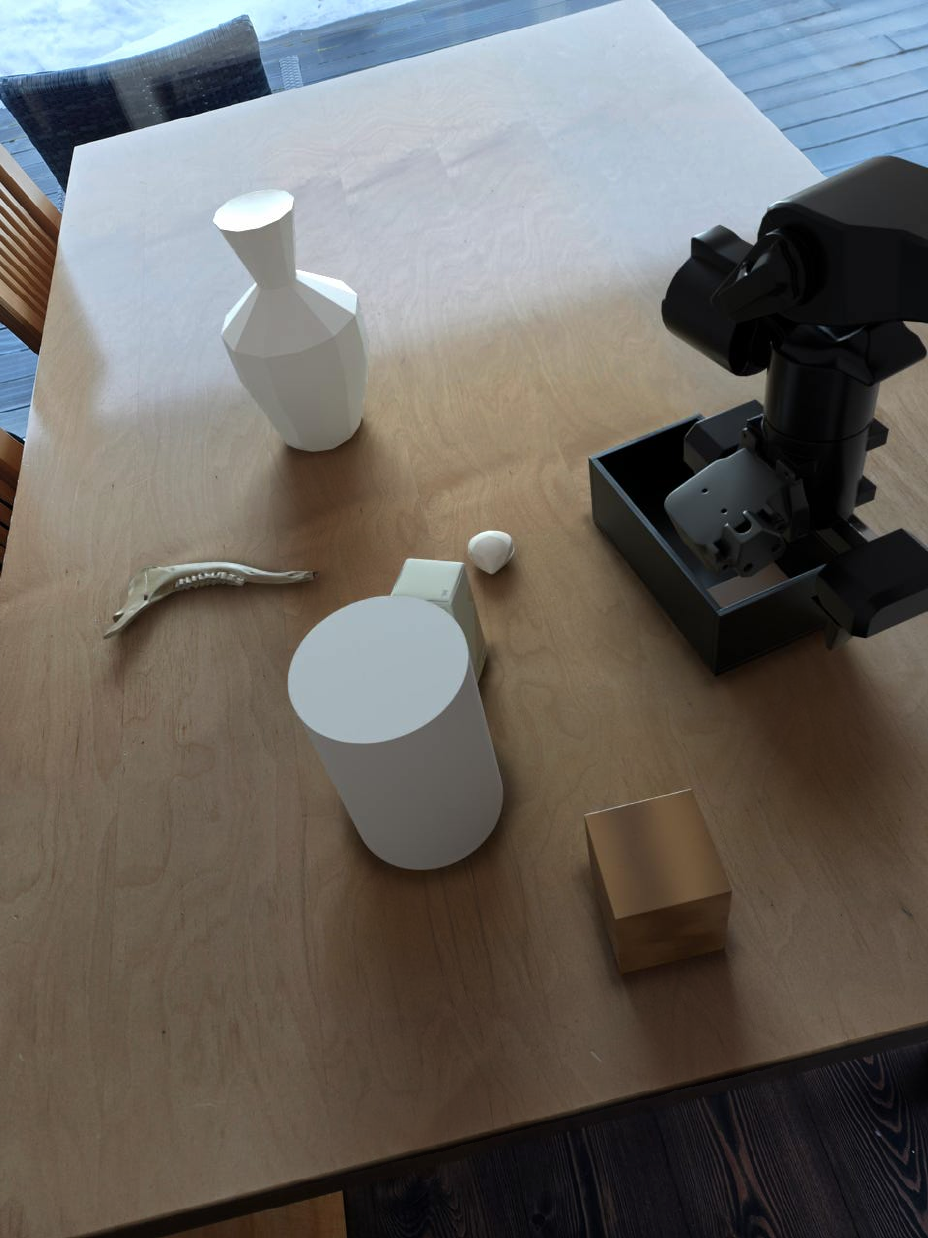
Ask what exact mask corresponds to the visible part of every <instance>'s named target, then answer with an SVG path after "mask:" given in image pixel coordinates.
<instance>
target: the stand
mask: <svg viewBox="0 0 928 1238" xmlns="http://www.w3.org/2000/svg"><path fill="white" fill-rule="evenodd" d="M583 819H584V821H583V822H584V828H585V835H586V843H587V844H586V845H587V851H588V861H589V867H590V868H589V869H590V874H591V880H592V883H593V886H594V889H595V893H596V897H597V901H598V904H599V906H600V911H601V914H602V916H603V921H604V923H605V927H606V931H607V934H608V937H609V940H610V945H611V947H612V952H613V955H614V958H615V962H616V964H617V968H618V971H619V974H620V975H622V974H625V973H631V972H634V971H635V972H636V971H639V970H643V969H646V968H651V967H655V966H659V965H663V964H667V963H673V962H675V961H679V960H683V959H688V958H692V957H696V956H700V955H704V954H710V953H713V952H717V951H721V950H724V949H725V945H726V939H727V931H728V925H729V918H730V911H731V904H732V896H733V888H732V886H731V884H730V881H729V878H728V876H727V874H726V871H725V869H724V866H723V864H722V861H721V858H720V856H719V853H718V851H717V848H716V846H715V844H714V841H713V838H712V836H711V834H710V830H709V829H708V826H707V823H706V821H705V819H704V816H703V813H702V810H701V808H700V806H699V803H698V800H697V799H696V796H695V794H694V791H693V789H692V788H689V789H685V790H680V791H677V792H672V793H669V794H664V795H659V796H656V797H652V798H648V799H644V800H640V801H635V802H630V803H627V804H624V805H619V806H615V807H611V808H608V809H603V810H598V811H595V812H591V813H586V814H584V815H583Z"/></svg>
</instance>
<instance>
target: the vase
mask: <svg viewBox="0 0 928 1238" xmlns="http://www.w3.org/2000/svg"><path fill="white" fill-rule="evenodd" d="M295 210H296V209H295V197H294V196H293V195H291V193H289V192H288V191H287V190H283V189H281V190H280V189H273V188H266V189H261V190H255V191H249V192H247V193H244V194H242V195H239V196H237V197H235V198H232V199H230V200H228V201H227V202H226V203H224V204H223V205H222V206H221V207H220V208H218V209H217V210H216V211H215V215H214V217H213V220H212V222H213V223H214V225H215V227H216V228H217V229H218V231H219V232H220V234H221V235H222V236H223V238H224V239H225V241H226V242H227V243H228V245H229V246H230V248H231V249H232V251H233V252H234V253H235V255H236V256H237V258H238V259H239V260H240V262H241V264H242V265H243V266H244V267H245V269H246V271H247V272H248V273H249V275H250V276H251V278H252V279H253V281H254V283H253V284H252V285H251V287H250V288H248V290H247V291H246V292H245V293H244V294H243V295H242V297H241V298H240V299H239V300H238V301H237V302H236V304H235V305H234V306H233V307H232V308H231V309H230V310H229V311H228V313H226V315H225V319H224V323H223V326H222V329H221V333H220V337H221V341H222V342H223V344H224V345H223V346H224V347H225V350H226V352H227V355H228V357H229V359H230V362H231V364H232V366H233V368H234V371H235V373H236V375H237V378H238V380H239V382H240V383H241V384H242V385H243V387H244V388H245V390H246V391H247V392H248V394H249V396H251V398H252V399H253V400H254V401H255V403H256V404H257V405H258V407H259V408H260V410H261V411H262V412H263V413H264V415H265V416H266V418H267V419H268V421H269V423H270V424H271V426H272V427H273V429H275V431H276V432H277V433H278V434H279V436H280V437H281V439H282V440H283V441H284V442H285V444H286V445H287V446H290V447H291V448H293V449H296V450H300V451H307V452H313V453H315V452H323V451H330V450H334V449H336V448H337V447H338V446H340V445H342V444H344V443H345V442H347V441H349V440H350V439H352V437H353V436H354V435H355V433H356V432H357V430H358V429H359V427H361V422H362V418H363V412H364V405H365V400H366V396H367V389H368V383H369V368H370V367H369V366H370V365H369V361H370V359H369V358H370V357H369V355H370V339H369V335H368V331H367V326H366V322H365V318H364V314H363V310H362V307H361V303H360V299H359V295H358V294H357V293H356V292H355V291H354V290H353V289H352V288H350V287H349V285H348V284H346V283H345V282H344V281H343V280H339V279H335V278H332V277H327V276H323V275H320V274H315V273H312V272H307V271H304V270H300V269H298V267H297V241H296V239H297V237H296V215H295V214H296V213H295V212H296V211H295Z"/></svg>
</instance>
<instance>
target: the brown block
mask: <svg viewBox="0 0 928 1238" xmlns="http://www.w3.org/2000/svg"><path fill="white" fill-rule="evenodd" d="M788 580H790V579H789V578H788V577H787V576H786V574H785V573H784V572H783V571H782V570H781V569H780V568H779V567H778V566H777V565H776V564H775V563H774V562H772V563H771V564H769V565H768V566H766V567H765V568H764V569H762V570H761V571H759V572H758V573H756V574H755V575H753V576H752V577H746V578H742V577H741V576H740V575H739V576H737V577H735V578H732V579H730V580H728V581H725V582H723V583H721V584H718V585H716V586H714V587H711V588H709V589H707V591H708V592H709V593H710V595H711V596H712V597H713V598H714V599H715V601H716V602H717V603H718V604H719V605H720V607H721V608H722V609H723V608H726V607H728V606H730V605H733V604H735V603H737V602H739V601H742V600H744V599H746V598H749V597H751V596H753V595H756V594H758V593H760V592H762V591H765V590H767V589H769V588H772V587H774V586H776V585H779V584H781V583H783V582H785V581H788Z"/></svg>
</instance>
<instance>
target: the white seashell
mask: <svg viewBox="0 0 928 1238" xmlns="http://www.w3.org/2000/svg"><path fill="white" fill-rule="evenodd" d="M467 546H468V547H467V553H468V557H469V559H470V560H471V561H472V562H473V564H474V565H475V566H476V567H477V568H479V569H480V570H482V571H484V572H485V573H488V574H489V575H493V574H495V573H496V572H498V571H499V570H500V569H501V568H503V567H504V566H505V565H506V564H508V562H510V560H511V558H512V556H513V555H514V553H515V543H514V538H512V537H511V536H510V535H509V534H508V533H506V532H503V531H499V530H487V531H483V532H480V533H478V534H476V535H475V536H473V537H472V538H471V539H470V540H469V542H468V545H467Z"/></svg>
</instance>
